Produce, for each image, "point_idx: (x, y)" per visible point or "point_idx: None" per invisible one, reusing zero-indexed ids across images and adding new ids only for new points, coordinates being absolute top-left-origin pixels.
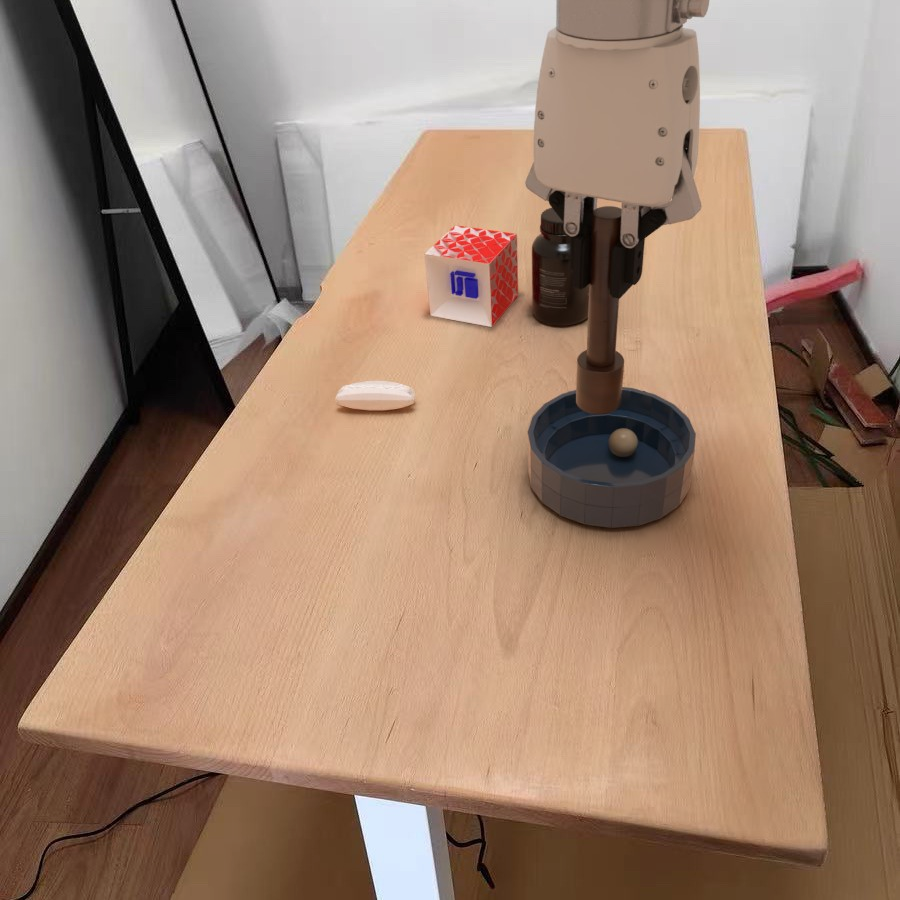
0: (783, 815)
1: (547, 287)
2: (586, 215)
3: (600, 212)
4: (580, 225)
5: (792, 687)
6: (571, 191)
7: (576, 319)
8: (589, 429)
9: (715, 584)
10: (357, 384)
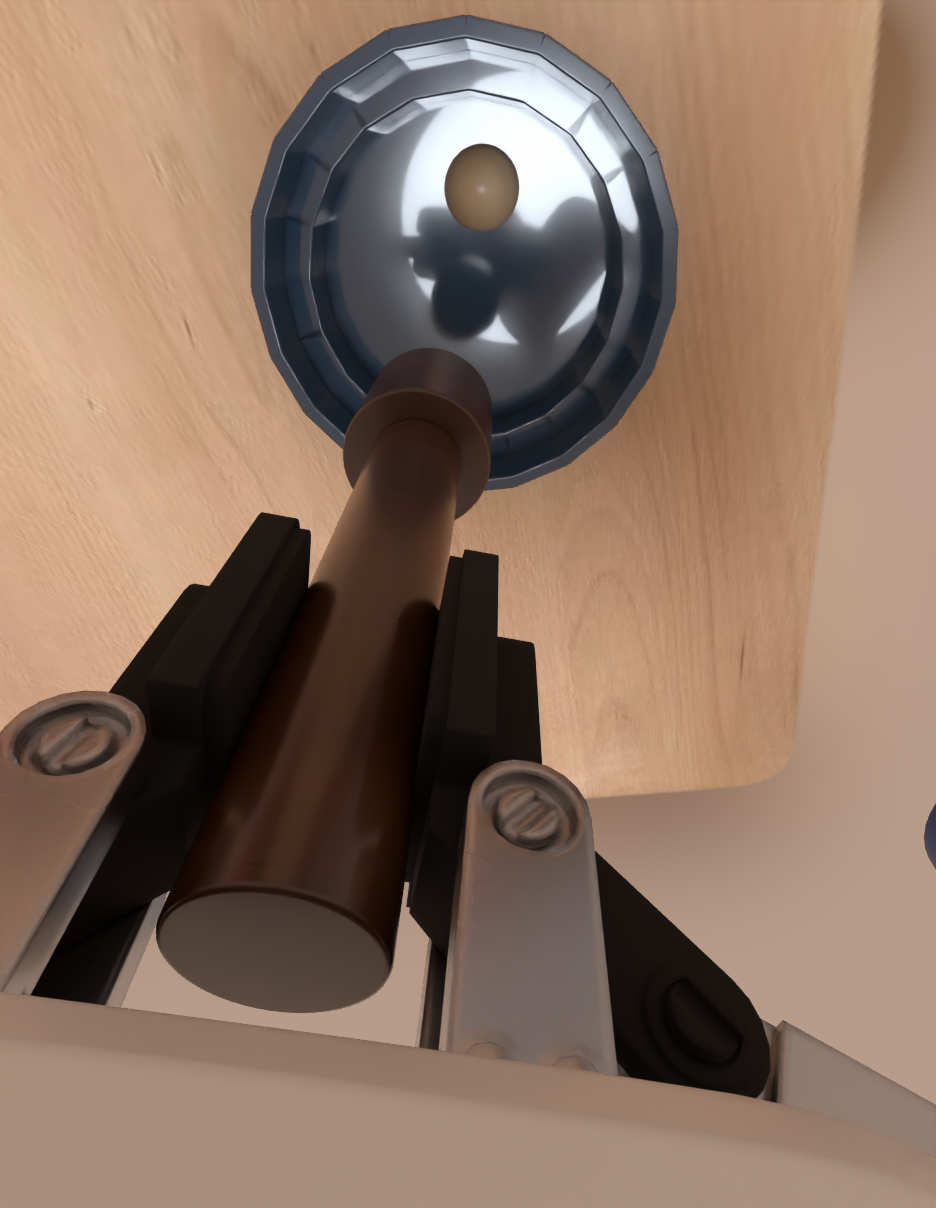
0: (758, 766)
1: None
2: (112, 858)
3: (219, 960)
4: (151, 917)
5: (793, 641)
6: None
7: None
8: (378, 128)
9: (700, 505)
10: None
